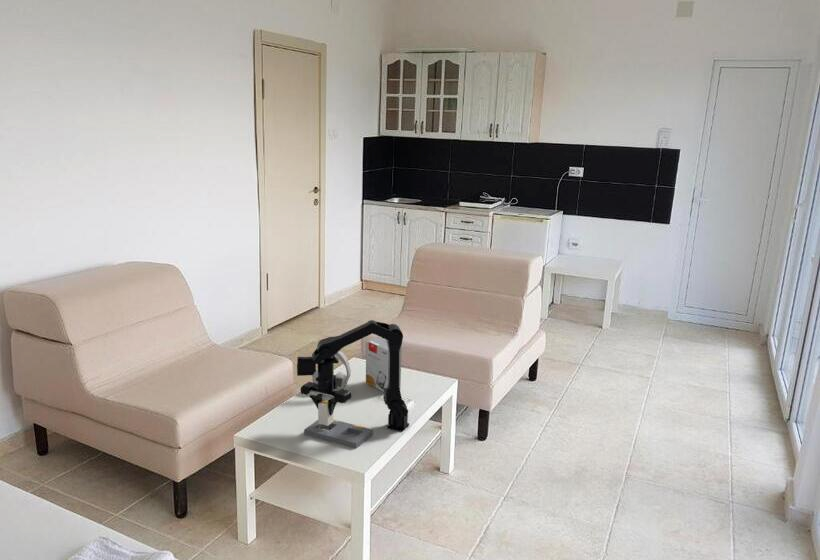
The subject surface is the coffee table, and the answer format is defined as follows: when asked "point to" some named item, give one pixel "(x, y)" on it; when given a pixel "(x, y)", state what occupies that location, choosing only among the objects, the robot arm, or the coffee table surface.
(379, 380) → the hard drive box
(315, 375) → the headphones
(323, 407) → the plug
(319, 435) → the panel
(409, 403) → the coffee table surface
